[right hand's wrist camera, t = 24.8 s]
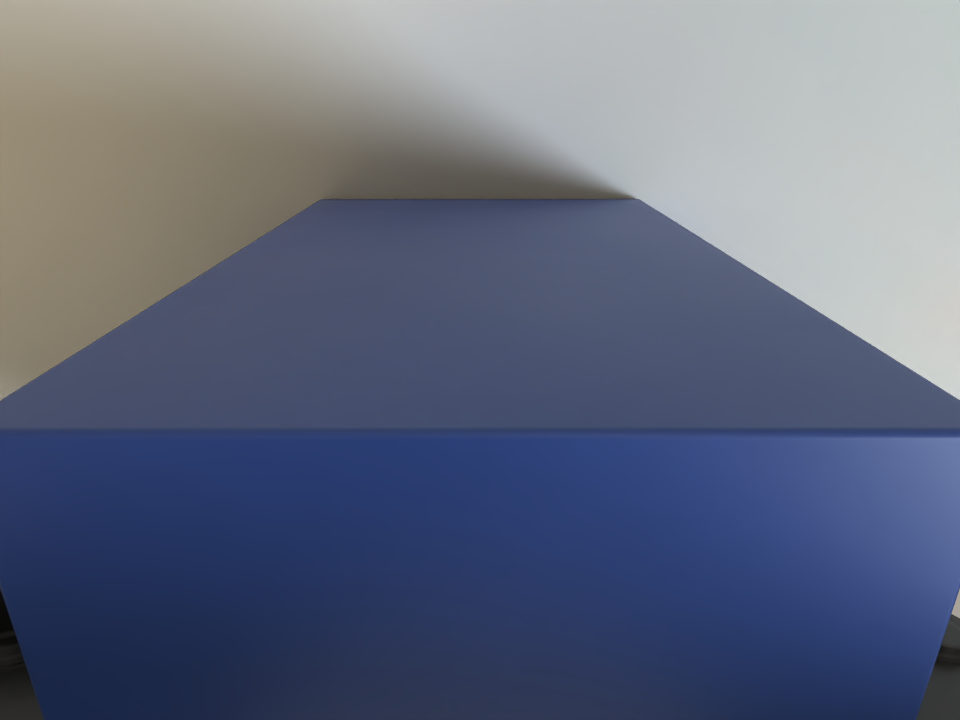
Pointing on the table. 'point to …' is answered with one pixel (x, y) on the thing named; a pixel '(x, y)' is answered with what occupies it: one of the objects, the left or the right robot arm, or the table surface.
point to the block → (480, 485)
